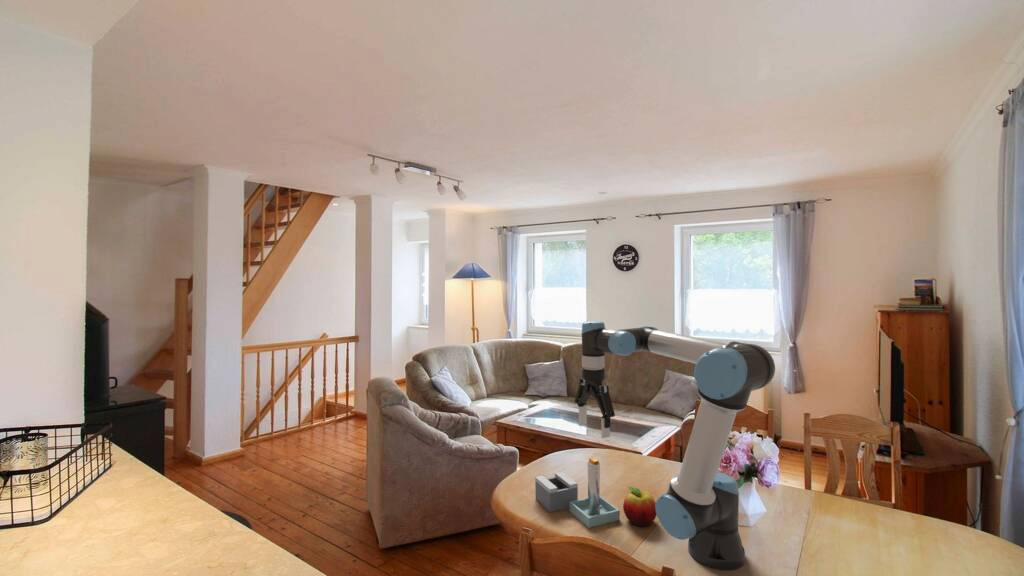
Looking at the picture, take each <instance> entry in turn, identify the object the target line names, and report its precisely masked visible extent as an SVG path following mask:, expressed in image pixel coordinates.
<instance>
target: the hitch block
mask: <svg viewBox="0 0 1024 576" xmlns="http://www.w3.org/2000/svg"><path fill="white" fill-rule="evenodd" d="M534 480H535V484H534V485H535V500H536V501H537V502H538V503H540V505H542V506H543V508H545V509H546V510H547V511H548V512H549V513H553V512H557V511H558V512H559V511H563V510H566V509H569V502H571V501H576V500H579V499H578V498H579V497H578V495H579V493H578V492H579V491H578V489H579V487H578V486H579V484H578V482H576V481H575V480H574V479H572V477H570V476H568V474H566V473H564V472H563V471H559V472H554V476H553V477H548V478H547V477H546V476H544V475H538V476H535V478H534Z"/></svg>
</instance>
